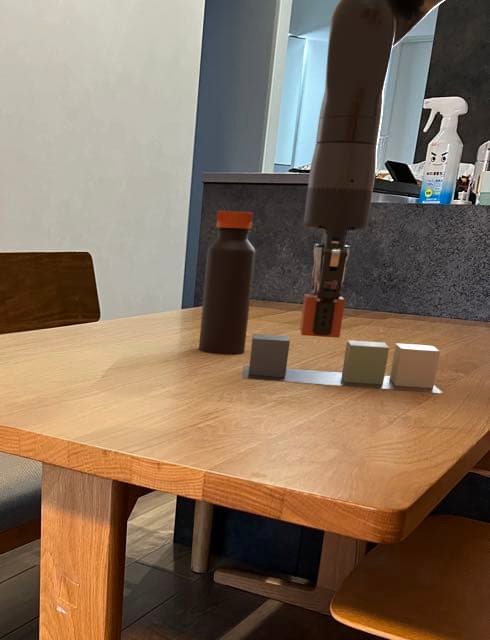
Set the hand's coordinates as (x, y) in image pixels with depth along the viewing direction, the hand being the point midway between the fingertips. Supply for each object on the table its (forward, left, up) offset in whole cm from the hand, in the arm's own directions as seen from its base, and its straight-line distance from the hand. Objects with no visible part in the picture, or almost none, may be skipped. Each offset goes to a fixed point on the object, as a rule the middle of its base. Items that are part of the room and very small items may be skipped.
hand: (319, 331), depth 108 cm
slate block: (+6, 0, -6) cm, 8 cm away
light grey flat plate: (-3, 0, -6) cm, 7 cm away
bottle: (+12, -17, -7) cm, 22 cm away
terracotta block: (0, 0, 0) cm, 0 cm away
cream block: (-12, 0, -6) cm, 13 cm away
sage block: (-6, 0, -6) cm, 8 cm away
